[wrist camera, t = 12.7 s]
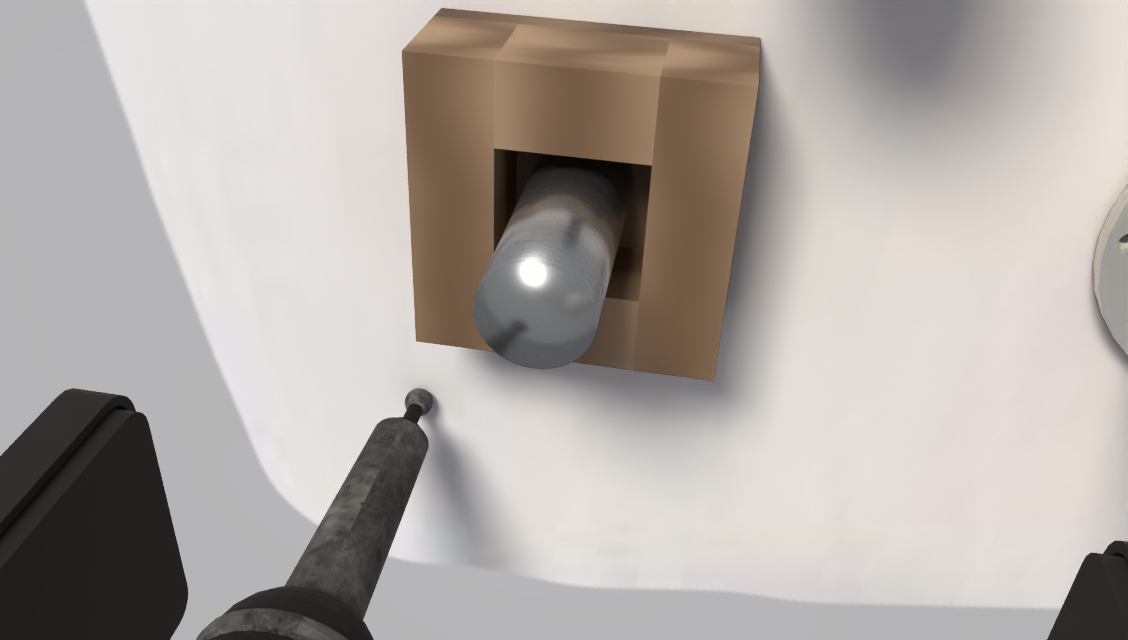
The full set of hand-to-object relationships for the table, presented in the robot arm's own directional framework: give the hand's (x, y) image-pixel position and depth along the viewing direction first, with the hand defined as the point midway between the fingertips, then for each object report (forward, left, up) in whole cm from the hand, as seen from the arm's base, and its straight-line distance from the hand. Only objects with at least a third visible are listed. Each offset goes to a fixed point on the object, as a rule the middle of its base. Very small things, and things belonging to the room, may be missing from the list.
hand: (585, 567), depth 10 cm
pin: (+4, +10, -29) cm, 31 cm away
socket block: (+4, +10, -30) cm, 32 cm away
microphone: (+11, +23, -31) cm, 40 cm away
